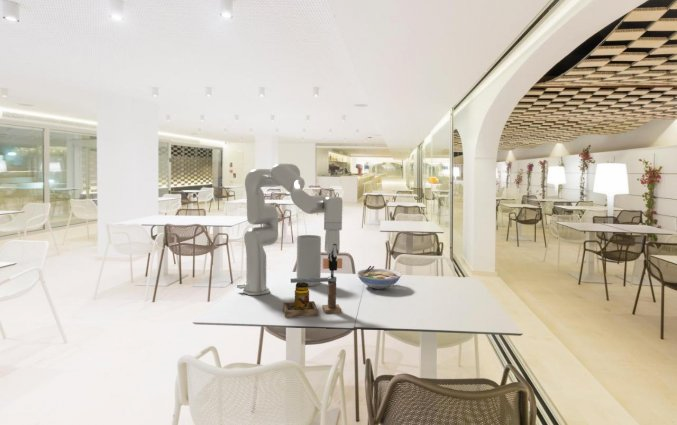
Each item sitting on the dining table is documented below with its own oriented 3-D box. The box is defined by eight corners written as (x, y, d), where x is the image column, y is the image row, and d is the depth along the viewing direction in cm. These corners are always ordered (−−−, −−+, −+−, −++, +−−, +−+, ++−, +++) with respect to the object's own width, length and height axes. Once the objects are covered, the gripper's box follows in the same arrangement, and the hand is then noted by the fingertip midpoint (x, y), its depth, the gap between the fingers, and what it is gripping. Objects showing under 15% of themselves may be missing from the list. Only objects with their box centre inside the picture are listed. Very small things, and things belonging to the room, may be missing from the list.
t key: (291, 283, 178) (291, 260, 177) (290, 281, 181) (290, 258, 181) (342, 282, 182) (342, 259, 181) (340, 280, 185) (341, 257, 185)
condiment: (306, 315, 177) (306, 286, 176) (287, 312, 179) (287, 284, 178) (312, 309, 184) (312, 282, 183) (294, 307, 186) (294, 280, 185)
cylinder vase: (324, 282, 230) (325, 236, 228) (311, 288, 220) (311, 239, 217) (306, 279, 237) (306, 234, 235) (291, 284, 226) (292, 237, 224)
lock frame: (284, 317, 174) (285, 287, 173) (283, 308, 186) (283, 280, 185) (342, 314, 179) (343, 285, 178) (337, 305, 191) (337, 278, 190)
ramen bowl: (395, 296, 208) (396, 279, 207) (350, 291, 215) (350, 275, 214) (404, 283, 231) (405, 268, 230) (363, 279, 238) (364, 265, 238)
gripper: (321, 223, 188) (320, 265, 190) (327, 228, 172) (326, 274, 174) (338, 223, 190) (337, 265, 191) (345, 228, 173) (344, 273, 175)
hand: (332, 268), depth 182 cm, fingers open, 3 cm apart
